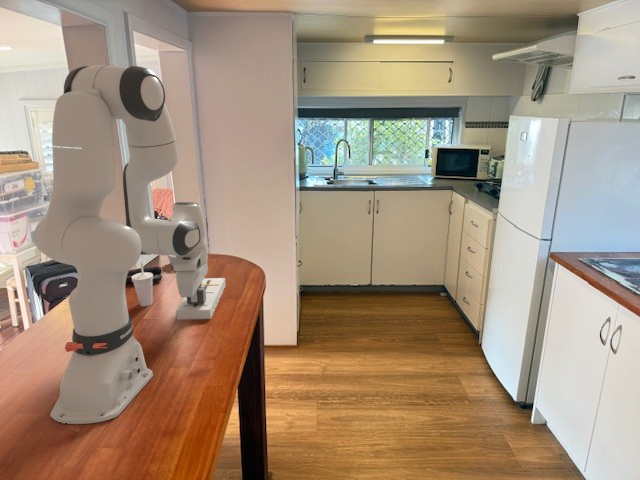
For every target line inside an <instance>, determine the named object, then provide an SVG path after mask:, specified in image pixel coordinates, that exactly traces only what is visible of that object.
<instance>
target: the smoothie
mask: <svg viewBox="0 0 640 480" xmlns="http://www.w3.org/2000/svg"><path fill="white" fill-rule="evenodd" d="M143 268H144V265H143V261H140V269H141V271H142V273H138V274H135V275H133V276H131V277H132V282H131V283H133V286H134V289H135V293H136V295H137V299H138V302H139V305H140V307H149V306H152V304H153V284H152V279H153V274H152V273H149V272H144V271H143Z"/></svg>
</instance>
